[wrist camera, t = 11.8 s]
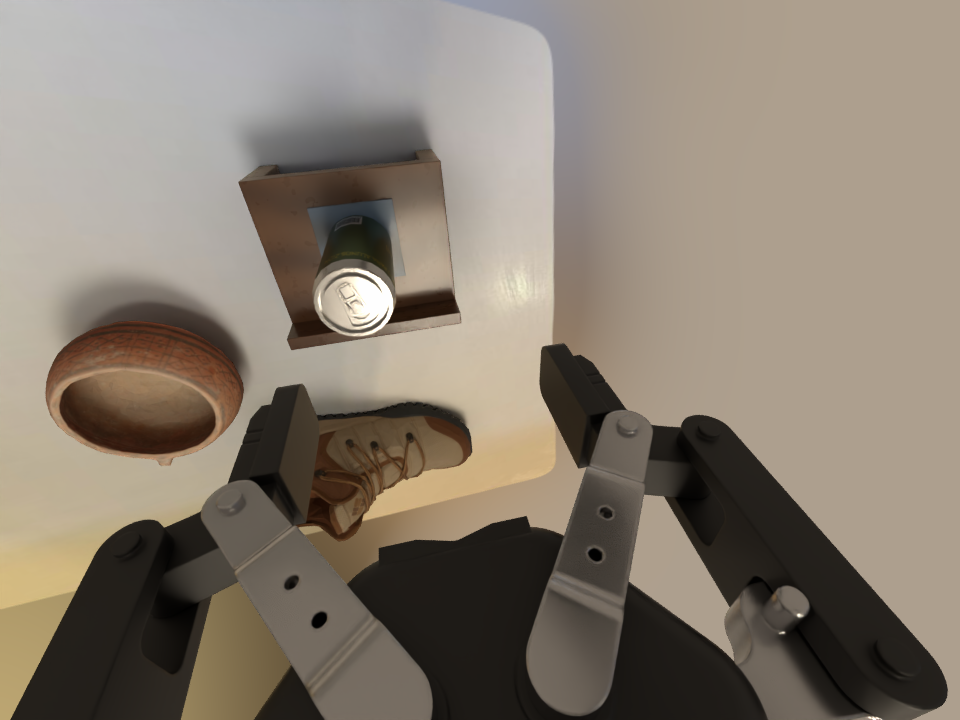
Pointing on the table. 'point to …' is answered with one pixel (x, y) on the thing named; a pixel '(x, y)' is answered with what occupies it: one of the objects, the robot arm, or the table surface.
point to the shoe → (377, 459)
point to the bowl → (143, 391)
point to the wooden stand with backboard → (345, 192)
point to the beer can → (356, 277)
